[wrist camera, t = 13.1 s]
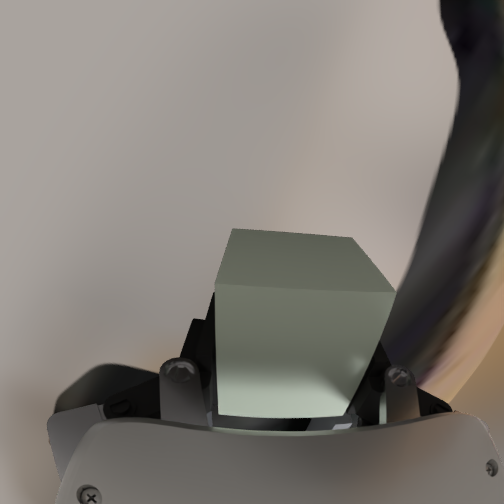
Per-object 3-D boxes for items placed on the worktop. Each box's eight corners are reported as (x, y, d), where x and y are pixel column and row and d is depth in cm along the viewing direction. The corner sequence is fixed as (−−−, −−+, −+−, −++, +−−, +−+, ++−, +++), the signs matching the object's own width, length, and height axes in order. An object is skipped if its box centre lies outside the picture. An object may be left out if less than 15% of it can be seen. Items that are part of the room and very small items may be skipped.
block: (325, 346, 13) (342, 415, 9) (229, 342, 13) (218, 414, 9) (352, 237, 11) (396, 292, 7) (232, 228, 11) (215, 283, 7)
